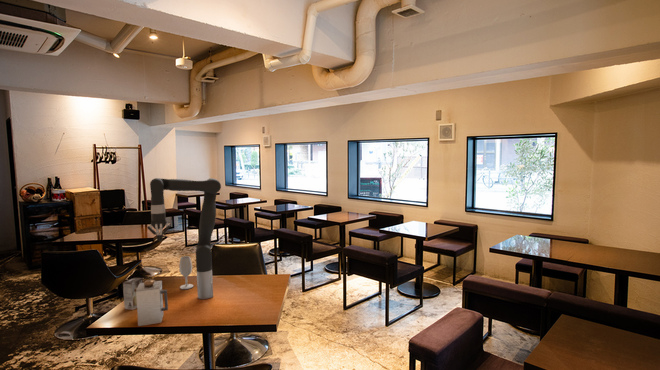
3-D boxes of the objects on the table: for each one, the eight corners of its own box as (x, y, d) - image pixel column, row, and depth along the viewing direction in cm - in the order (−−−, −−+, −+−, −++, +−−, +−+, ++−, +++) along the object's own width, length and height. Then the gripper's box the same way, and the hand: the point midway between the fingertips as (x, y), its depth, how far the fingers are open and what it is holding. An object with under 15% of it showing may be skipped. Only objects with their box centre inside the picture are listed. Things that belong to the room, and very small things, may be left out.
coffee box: (135, 302, 216) (134, 277, 215) (144, 303, 215) (143, 277, 214) (124, 309, 207) (122, 282, 206) (133, 309, 206) (131, 283, 205)
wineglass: (180, 290, 235) (178, 259, 234) (179, 286, 243) (177, 256, 242) (194, 288, 239) (192, 257, 238) (192, 284, 247) (191, 254, 246)
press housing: (169, 313, 201) (167, 279, 199) (167, 321, 190) (165, 286, 189) (141, 317, 196) (139, 283, 195) (138, 326, 186) (136, 290, 184)
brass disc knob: (160, 313, 198) (158, 277, 196) (158, 319, 190) (156, 282, 189) (143, 315, 195) (141, 279, 194) (141, 322, 187) (139, 284, 186)
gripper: (171, 210, 214) (172, 238, 216) (146, 212, 210) (148, 240, 211) (170, 212, 207) (171, 241, 209) (144, 213, 203) (146, 243, 204)
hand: (159, 241), depth 210 cm, fingers closed
